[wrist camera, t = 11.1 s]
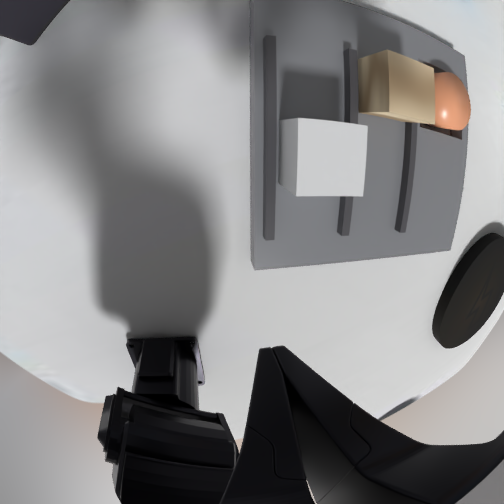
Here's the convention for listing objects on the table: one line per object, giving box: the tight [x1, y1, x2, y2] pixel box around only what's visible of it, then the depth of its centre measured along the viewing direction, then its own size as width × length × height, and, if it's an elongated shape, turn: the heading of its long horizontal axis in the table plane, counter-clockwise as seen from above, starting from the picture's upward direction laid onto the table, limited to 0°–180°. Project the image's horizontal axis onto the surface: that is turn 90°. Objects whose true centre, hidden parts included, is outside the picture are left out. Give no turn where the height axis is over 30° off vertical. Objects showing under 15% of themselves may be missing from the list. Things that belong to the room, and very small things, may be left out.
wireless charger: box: [432, 233, 504, 348], centre depth 28 cm, size 18×18×2 cm
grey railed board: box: [250, 0, 468, 270], centre depth 17 cm, size 20×20×2 cm
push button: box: [428, 72, 471, 130], centre depth 16 cm, size 5×5×3 cm
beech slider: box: [358, 50, 435, 124], centre depth 13 cm, size 4×4×4 cm
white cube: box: [279, 118, 368, 196], centre depth 15 cm, size 4×4×4 cm
